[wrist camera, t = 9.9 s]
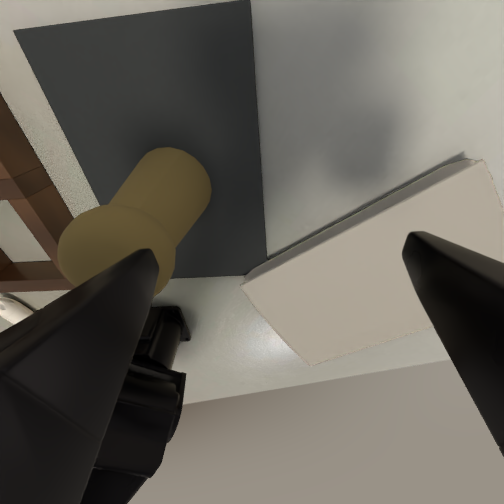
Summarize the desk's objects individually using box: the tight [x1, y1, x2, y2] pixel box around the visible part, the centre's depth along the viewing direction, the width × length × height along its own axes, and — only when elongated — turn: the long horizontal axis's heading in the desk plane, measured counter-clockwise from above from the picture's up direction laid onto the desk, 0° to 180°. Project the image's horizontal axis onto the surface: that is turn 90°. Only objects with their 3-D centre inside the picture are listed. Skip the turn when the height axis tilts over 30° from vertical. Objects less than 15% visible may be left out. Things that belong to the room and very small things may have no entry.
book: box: [240, 159, 504, 366], centre depth 24 cm, size 15×23×4 cm, turn 126°
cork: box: [57, 147, 212, 297], centre depth 15 cm, size 6×6×11 cm
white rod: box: [0, 297, 34, 325], centre depth 32 cm, size 18×2×2 cm, turn 24°
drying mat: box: [13, 0, 267, 279], centre depth 20 cm, size 20×14×1 cm
